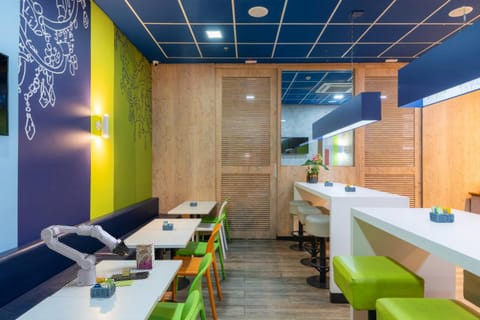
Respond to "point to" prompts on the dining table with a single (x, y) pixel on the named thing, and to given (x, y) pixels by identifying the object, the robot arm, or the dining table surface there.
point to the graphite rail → (132, 277)
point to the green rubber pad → (124, 283)
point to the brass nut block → (126, 272)
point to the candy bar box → (145, 256)
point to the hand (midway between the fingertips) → (126, 253)
